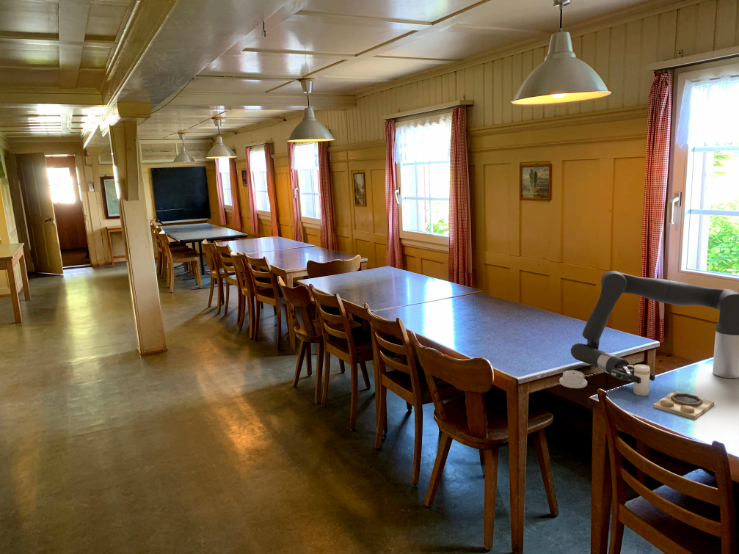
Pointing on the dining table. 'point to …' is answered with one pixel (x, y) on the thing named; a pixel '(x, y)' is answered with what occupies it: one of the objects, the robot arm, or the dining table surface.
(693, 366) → the dining table surface
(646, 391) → the cylinder
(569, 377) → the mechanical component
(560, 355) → the dining table surface
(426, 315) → the dining table surface
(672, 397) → the board
